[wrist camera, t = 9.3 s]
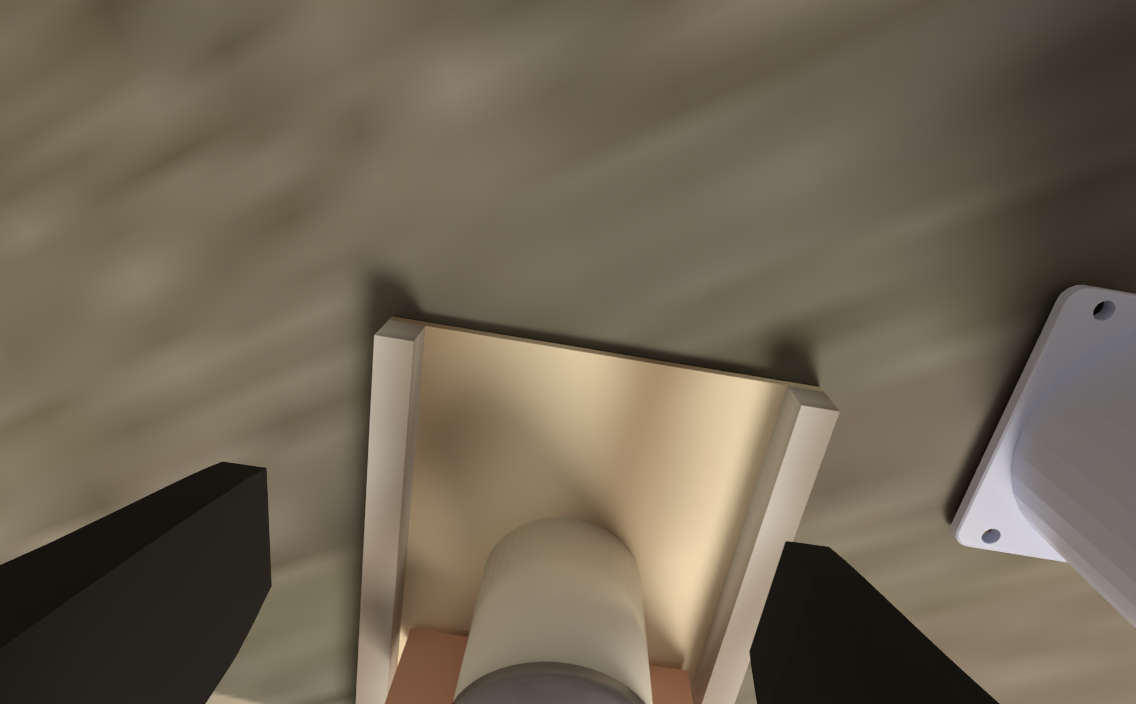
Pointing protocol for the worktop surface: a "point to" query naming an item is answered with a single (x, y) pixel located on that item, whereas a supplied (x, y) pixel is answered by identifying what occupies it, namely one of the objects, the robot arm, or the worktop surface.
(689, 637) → the lane
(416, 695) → the pusher
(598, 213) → the worktop surface
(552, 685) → the jar
